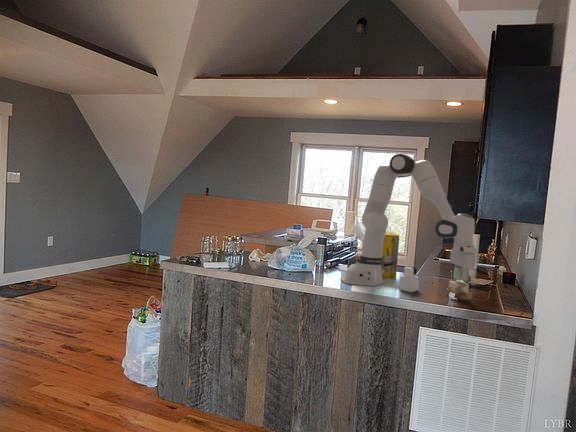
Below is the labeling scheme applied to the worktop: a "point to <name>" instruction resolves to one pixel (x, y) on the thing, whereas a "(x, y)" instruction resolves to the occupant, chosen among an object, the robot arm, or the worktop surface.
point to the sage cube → (459, 274)
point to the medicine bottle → (409, 280)
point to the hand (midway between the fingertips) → (460, 274)
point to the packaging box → (390, 255)
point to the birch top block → (458, 286)
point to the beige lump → (459, 295)
